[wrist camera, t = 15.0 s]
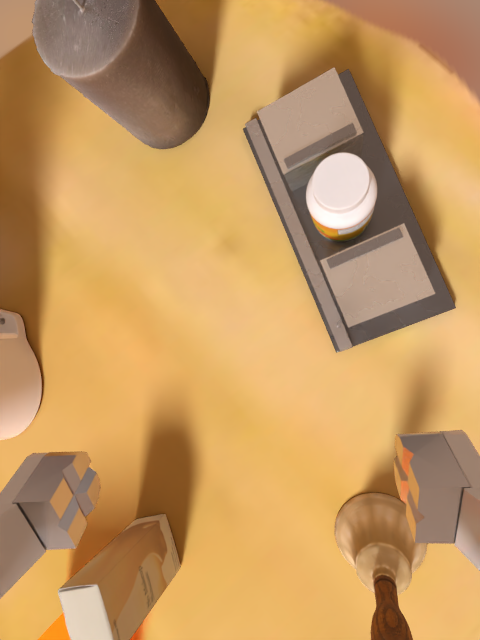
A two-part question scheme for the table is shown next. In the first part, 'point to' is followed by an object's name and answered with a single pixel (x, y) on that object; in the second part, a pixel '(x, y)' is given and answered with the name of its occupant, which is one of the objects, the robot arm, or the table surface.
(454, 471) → the robot arm
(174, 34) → the pillar candle
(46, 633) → the orange juice
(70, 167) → the table surface
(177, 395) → the table surface
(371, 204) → the supplement bottle
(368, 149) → the rail plate
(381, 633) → the hand bell
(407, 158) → the table surface
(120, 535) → the skincare box
